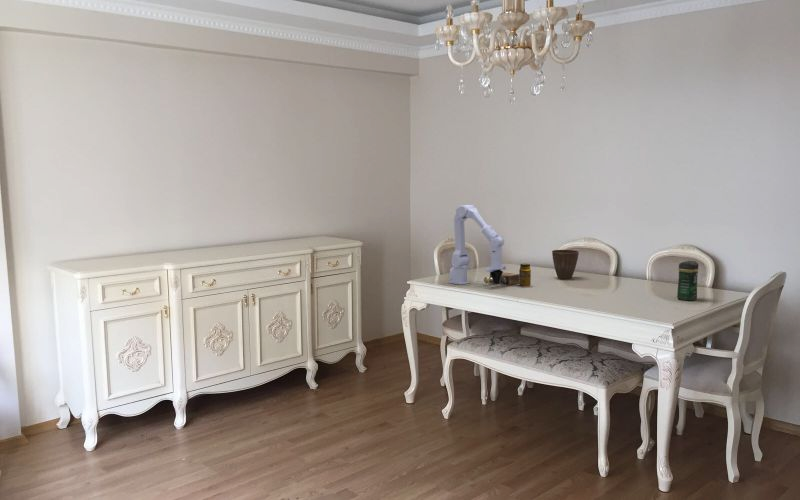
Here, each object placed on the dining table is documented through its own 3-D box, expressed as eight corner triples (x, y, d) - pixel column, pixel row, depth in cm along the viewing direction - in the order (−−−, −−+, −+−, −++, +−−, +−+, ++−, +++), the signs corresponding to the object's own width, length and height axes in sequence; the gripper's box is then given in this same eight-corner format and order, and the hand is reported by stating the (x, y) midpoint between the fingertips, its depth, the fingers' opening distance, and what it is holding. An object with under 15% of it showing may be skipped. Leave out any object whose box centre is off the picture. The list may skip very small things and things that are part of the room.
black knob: (500, 283, 362) (500, 277, 362) (510, 281, 368) (510, 275, 368) (505, 284, 360) (505, 278, 360) (515, 282, 366) (515, 276, 366)
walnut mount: (489, 283, 371) (489, 273, 370) (498, 281, 376) (498, 271, 376) (510, 286, 361) (510, 275, 360) (519, 284, 366) (519, 274, 366)
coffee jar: (691, 301, 313) (693, 262, 311) (674, 299, 319) (676, 261, 317) (699, 298, 320) (701, 260, 318) (682, 296, 326) (684, 259, 324)
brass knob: (484, 283, 365) (484, 276, 365) (493, 281, 371) (494, 275, 371) (488, 283, 363) (488, 277, 362) (498, 281, 369) (498, 275, 368)
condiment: (534, 286, 360) (534, 264, 359) (522, 288, 355) (522, 265, 354) (524, 284, 366) (524, 262, 365) (513, 286, 362) (513, 264, 360)
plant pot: (583, 279, 382) (584, 251, 380) (565, 281, 373) (566, 253, 371) (563, 276, 394) (564, 249, 392) (546, 278, 385) (546, 251, 384)
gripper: (493, 261, 348) (493, 286, 349) (510, 258, 358) (510, 283, 359) (483, 259, 353) (483, 285, 354) (500, 257, 363) (499, 281, 364)
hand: (496, 284), depth 357 cm, fingers closed
